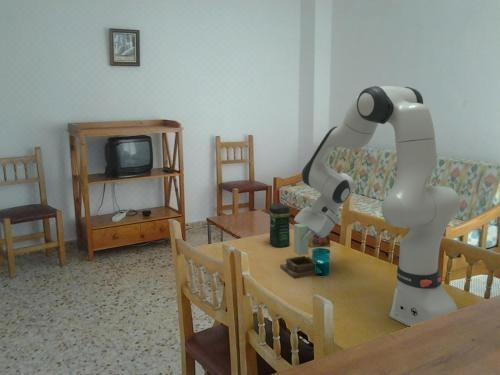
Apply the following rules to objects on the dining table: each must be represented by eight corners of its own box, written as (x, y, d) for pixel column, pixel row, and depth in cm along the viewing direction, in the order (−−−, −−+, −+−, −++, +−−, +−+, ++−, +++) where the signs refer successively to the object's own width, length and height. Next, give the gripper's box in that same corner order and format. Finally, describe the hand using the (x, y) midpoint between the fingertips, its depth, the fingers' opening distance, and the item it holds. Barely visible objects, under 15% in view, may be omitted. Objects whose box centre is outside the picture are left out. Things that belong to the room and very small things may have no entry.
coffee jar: (292, 246, 211) (292, 205, 207) (276, 248, 208) (275, 207, 205) (283, 240, 220) (283, 200, 216) (267, 242, 217) (266, 202, 213)
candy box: (310, 247, 209) (310, 213, 206) (308, 244, 213) (308, 211, 210) (330, 246, 210) (330, 212, 207) (327, 243, 214) (327, 210, 211)
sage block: (308, 253, 180) (308, 225, 178) (298, 255, 179) (299, 227, 177) (303, 250, 184) (303, 223, 182) (294, 252, 183) (294, 224, 180)
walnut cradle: (322, 273, 179) (323, 264, 179) (294, 278, 175) (294, 269, 174) (307, 263, 190) (307, 254, 190) (280, 267, 186) (280, 258, 185)
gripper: (304, 199, 190) (282, 226, 188) (331, 211, 171) (307, 241, 170) (314, 209, 192) (292, 235, 191) (342, 222, 174) (318, 251, 172)
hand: (299, 238), depth 180 cm, fingers closed on sage block, 4 cm apart
